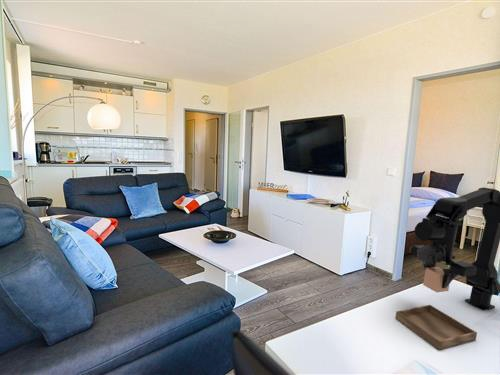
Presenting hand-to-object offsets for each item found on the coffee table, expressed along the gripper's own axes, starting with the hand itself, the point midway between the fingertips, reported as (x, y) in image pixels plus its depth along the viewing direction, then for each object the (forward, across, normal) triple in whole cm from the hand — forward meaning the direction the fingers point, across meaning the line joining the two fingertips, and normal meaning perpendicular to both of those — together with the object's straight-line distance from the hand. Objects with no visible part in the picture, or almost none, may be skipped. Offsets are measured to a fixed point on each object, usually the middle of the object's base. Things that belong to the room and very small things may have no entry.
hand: (436, 284), depth 94 cm
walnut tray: (+12, +6, -6) cm, 14 cm away
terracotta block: (+1, 0, 0) cm, 1 cm away
